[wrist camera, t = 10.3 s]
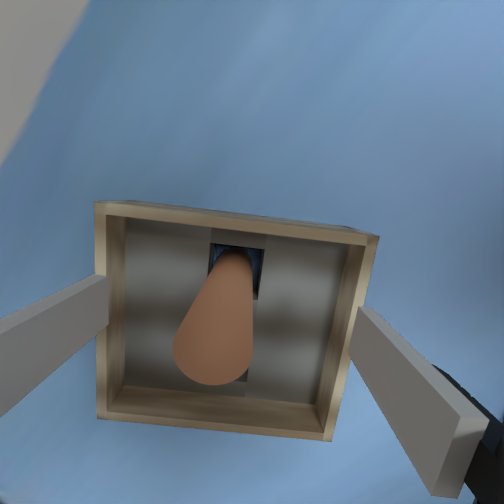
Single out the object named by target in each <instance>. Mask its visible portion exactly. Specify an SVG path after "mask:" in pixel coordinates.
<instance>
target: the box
mask: <svg viewBox="0 0 504 504" xmlns="http://www.w3.org/2000/svg"><path fill="white" fill-rule="evenodd" d="M94 228H95V275H103V276H108V306H109V324H108V325H107V326H106V327H105V328H104V329H102V330H101V331H100V332H99V333H98V334H97V335H96V387H97V419H105V420H115V421H125V422H135V423H145V424H155V425H166V426H176V427H186V428H196V429H206V430H216V431H227V432H237V433H247V434H257V435H267V436H277V437H288V438H298V439H308V440H318V441H328V442H332V437H333V433H334V429H335V425H336V420H337V416H338V412H339V407H340V403H341V399H342V395H343V390H344V386H345V382H346V378H347V373H348V369H349V365H350V360H351V358H350V356H349V354H348V353H347V352H348V348H349V344H350V339H351V335H352V331H353V327H354V322H355V318H356V314H357V310H358V306H359V307H363V305H364V301H365V296H366V292H367V288H368V283H369V279H370V275H371V271H372V266H373V262H374V258H375V253H376V249H377V245H378V241H379V236H377V235H374V234H370V233H367V232H363V231H360V230H356V229H353V228H350V227H345V226H337V225H329V224H320V223H312V222H304V221H296V220H288V219H280V218H272V217H264V216H256V215H247V214H239V213H231V212H223V211H215V210H207V209H199V208H191V207H183V206H175V205H166V204H158V203H150V202H142V201H94ZM215 243H217V244H225V245H234V246H242V247H250V248H259V249H262V255H261V263H260V270H259V278H258V285H257V288H253V356H252V360H251V363H250V365H249V367H248V368H247V370H246V371H245V372H244V373H243V374H242V375H241V376H240V377H239V378H237V379H236V380H234V381H232V382H230V383H226V384H222V385H206V384H201V383H198V382H196V381H194V380H192V379H190V378H189V377H187V376H186V375H185V374H184V373H183V372H182V371H181V370H180V369H179V367H178V366H177V364H176V362H175V360H174V357H173V351H172V345H173V340H174V337H175V334H176V332H177V331H178V329H179V327H180V325H181V323H182V322H183V320H184V318H185V316H186V315H187V313H188V311H189V309H190V307H191V306H192V304H193V302H194V300H195V299H196V297H197V295H198V293H199V292H200V290H201V288H202V286H203V284H204V283H205V281H206V279H207V277H208V276H209V274H210V272H211V270H212V268H213V257H214V246H215Z"/></svg>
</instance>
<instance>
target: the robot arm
mask: <svg viewBox="0 0 504 504" xmlns="http://www.w3.org/2000/svg"><path fill="white" fill-rule="evenodd" d="M108 324H109V306H108V276H103V275H95V274H93V275H91V276H89V277H87V278H85V279H83V280H81V281H79V282H77V283H74V284H72V285H70V286H68V287H66V288H64V289H62V290H60V291H58V292H56V293H54V294H52V295H49V296H47V297H45V298H43V299H41V300H39V301H37V302H35V303H33V304H31V305H29V306H26V307H24V308H22V309H20V310H18V311H16V312H14V313H12V314H10V315H8V316H6V317H4V318H1V319H0V418H1V417H2V416H3V415H4V414H6V413H7V412H8V411H9V410H10V409H11V408H12V407H14V406H15V405H16V404H17V403H18V402H19V401H21V400H22V399H23V398H24V397H25V396H26V395H27V394H29V393H30V392H31V391H32V390H33V389H34V388H36V387H37V386H38V385H39V384H40V383H41V382H42V381H44V380H45V379H46V378H47V377H48V376H49V375H51V374H52V373H53V372H54V371H55V370H56V369H57V368H59V367H60V366H61V365H62V364H63V363H64V362H66V361H67V360H68V359H69V358H70V357H71V356H72V355H74V354H75V353H76V352H77V351H78V350H79V349H81V348H82V347H83V346H84V345H85V344H86V343H87V342H89V341H90V340H91V339H92V338H93V337H94V336H96V335H97V334H98V333H99V332H100V331H101V330H102V329H104V328H105V327H106V326H107V325H108ZM347 353H348V354H349V356H350V358H351V360H352V361H353V363H354V365H355V366H356V368H357V370H358V372H359V373H360V375H361V377H362V378H363V380H364V382H365V384H366V385H367V387H368V389H369V390H370V392H371V394H372V396H373V397H374V399H375V401H376V402H377V404H378V406H379V408H380V409H381V411H382V413H383V414H384V416H385V418H386V419H387V421H388V423H389V425H390V426H391V428H392V430H393V431H394V433H395V435H396V437H397V438H398V440H399V442H400V443H401V445H402V447H403V449H404V450H405V452H406V454H407V455H408V457H409V459H410V461H411V462H412V464H413V466H414V467H415V469H416V471H417V472H418V474H419V476H420V478H421V479H422V481H423V483H424V484H425V486H426V488H427V490H428V491H429V493H430V495H431V496H437V497H446V498H455V499H458V496H459V494H460V491H461V489H462V486H463V484H464V482H465V483H466V485H467V486H468V487H469V489H470V490H471V492H472V493H473V494H474V496H475V499H474V502H473V504H504V425H503V424H502V423H501V422H500V421H498V420H497V419H496V418H495V417H494V416H493V415H492V414H491V413H490V412H489V411H488V410H487V409H485V408H484V407H483V406H482V405H481V404H480V403H479V402H478V401H477V400H476V399H475V398H474V397H471V396H470V394H469V393H468V392H467V391H466V390H465V389H464V388H463V387H460V384H458V383H457V382H456V381H455V380H454V379H453V378H452V377H451V376H450V375H449V374H447V373H446V372H444V371H443V370H441V369H440V368H438V367H436V366H435V365H432V364H430V363H429V362H428V361H427V360H426V359H425V358H424V357H423V356H422V355H421V354H420V353H419V352H418V351H417V350H416V349H415V348H414V347H413V346H412V345H411V344H410V343H408V342H407V341H406V340H405V339H404V338H403V337H402V336H401V335H400V334H399V333H398V332H397V331H396V330H395V329H394V328H393V327H392V326H391V325H390V324H389V323H388V322H387V321H386V320H384V319H383V318H382V317H381V316H380V315H379V314H378V313H377V312H376V311H375V310H374V309H373V308H367V307H359V306H358V310H357V314H356V318H355V322H354V327H353V331H352V335H351V339H350V344H349V348H348V352H347Z"/></svg>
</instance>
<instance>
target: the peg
mask: <svg viewBox="0 0 504 504" xmlns="http://www.w3.org/2000/svg"><path fill="white" fill-rule="evenodd" d="M172 351H173V357H174V360H175V362H176V364H177V366H178V367H179V369H180V370H181V371H182V372H183V373H184V374H185V375H186V376H187V377H189V378H190V379H192V380H194V381H196V382H198V383H201V384H206V385H222V384H226V383H230V382H232V381H234V380H236V379H237V378H239V377H240V376H241V375H242V374H243V373H244V372H245V371H246V370H247V368H248V367H249V365H250V363H251V360H252V356H253V271H252V259H251V257H250V255H249V254H248V252H247V251H245V250H244V249H242V248H238V247H231V248H228V249H226V250H224V251H223V252H222V253H221V255H220V256H219V258H218V260H217V261H216V263H215V265H214V267H213V269H212V270H211V272H210V274H209V276H208V277H207V279H206V281H205V283H204V284H203V286H202V288H201V290H200V292H199V293H198V295H197V297H196V299H195V300H194V302H193V304H192V306H191V307H190V309H189V311H188V313H187V315H186V316H185V318H184V320H183V322H182V323H181V325H180V327H179V329H178V331H177V332H176V334H175V337H174V340H173V345H172Z"/></svg>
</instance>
